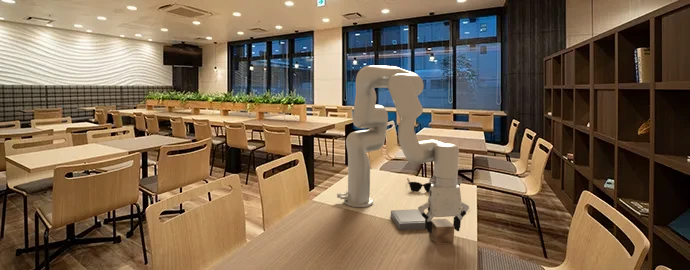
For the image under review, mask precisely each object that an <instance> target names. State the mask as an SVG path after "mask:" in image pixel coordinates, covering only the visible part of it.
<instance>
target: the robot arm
mask: <svg viewBox="0 0 690 270" xmlns="http://www.w3.org/2000/svg"><path fill="white" fill-rule="evenodd" d="M423 81H424V80H423V79H422V77H420V76H419V74H417V73H415V72H413V71H409V70H406V69H403V68H400V67H398V66H395V65H394V66H393V65H391V66H390V65H375V64H373V65H366V66H363V67H362V68H361V69H359V71H358V72H357V73H356V77H355V99H354V104H353V105H354V107H353V113H352V114H353V115H352V123H353V126H354V127H356V128H357V129H362V130H356V131H352V132H350V133H349V134H348V135H347V137H346V139H345V145H346V150H347V152H346V153H347V190H346V191H345V192H344V193H341V192H340V193H339V192H338V193H336V198H337V199H340V200H343V203H344V204H345V205H346V206H349V207H352V208H366V207H370V206H372V205H373V203H374V199H373V198H372V197H370V194H371V193H370V191H371V189H370V188H371V160H370V158H369V156H368V153H369V152H371V153H372V152H376V151H379V150H381V149H382V148H383V147H384V144H385V140H386V136H387V135H386V134H387V129H388V122H389V116H388V115H389V114H388V111H387V109H386V108H385V107H384V106H383V105H380V104H376V103H377V93H376V90H375V89H376V88H378V89H379V88H382V89H383V88H387V89H388V91H389V92H388V93H389V94H390V96H391V99H392V102H393V104H394V106H395V109H396V111H397V113H398V116H399V123H398V128H397V130H398V131H397V138H398V142H399V146H400V147H401V150H402V152H403V155H404V156H405V159H406V160H407V161H408V162H409V163H410V164H412V165H423V164H426V163H431V162H433V175H432V177H431V178H429V179H428V181H429V182H430V183H433V184H431V187H430V191H429V192H428V197H427V198H428V199H427V202H425V203H424V204H421V205H420V206H418V207H417V209H418V210H419V212H420V213H421V215H422V216H423V217H424V218H425V228H426V229H425V230H426V231H427V232H428V234H429V233H432V221H431V220H432V219H433V218H444V217H446V218H447V217H453V223H452V224H453V225H454V226H455V227H454V231H456V232H460V229H461V221H462V220H463V217H465V216H466V215H467V212H468V210H469V209H470V206H469V205H468V204H466V203H464V202H462V194H461V193H462V192H461V186H460V187H459V185H457V180H458V174H459V173H458V172H459V156H460V149H459V146H458V145H457V144H453V143H448V142H442V141H438V140H436V139H425V140H419V139H418V137H417V135H416V131H415V123H416V120H417V119H418V117H419V116H421V115H422V114H423V112H424V109H423V106H422V103H421V101H420V100H419V95H421V94H422V92H423V91H424V82H423ZM425 210H427V212H426V213H425Z"/></svg>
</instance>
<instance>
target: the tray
mask: <svg viewBox="0 0 690 270" xmlns="http://www.w3.org/2000/svg"><path fill="white" fill-rule="evenodd" d="M390 218H391V219H392V221H393V222H394V224H395V226H396V227H397V229H398V230H399V231H409V230H410V231H412V230H426V228H425V218H424V217H423V216H422V215H421V213H420V212H419V210H418V208H417V209H395V210H390Z"/></svg>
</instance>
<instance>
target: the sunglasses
mask: <svg viewBox="0 0 690 270" xmlns="http://www.w3.org/2000/svg"><path fill="white" fill-rule="evenodd" d="M406 180H407V183H408V185H409V188H410V191H411V192H419V191H420V190H422V188H424V190H425V191H426V193H429V191H430V187H431V184H433V183H432V182H430V181H429V182H426V183H424V184H422V183H421V182H418V181H410V179H409V178H408V177H407V178H406Z"/></svg>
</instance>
